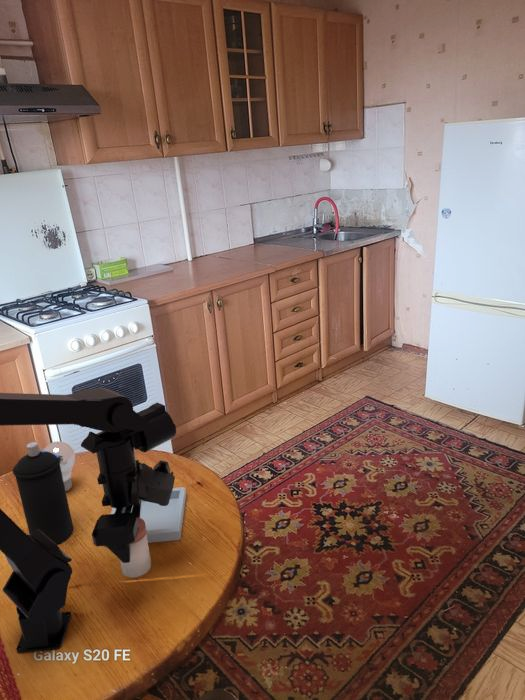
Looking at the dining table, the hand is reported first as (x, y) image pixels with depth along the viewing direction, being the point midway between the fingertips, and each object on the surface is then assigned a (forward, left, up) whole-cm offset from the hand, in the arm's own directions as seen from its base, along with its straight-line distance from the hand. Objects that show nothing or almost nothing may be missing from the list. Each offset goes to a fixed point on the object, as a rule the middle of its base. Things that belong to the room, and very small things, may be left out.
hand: (131, 542), depth 91 cm
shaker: (0, 0, -6) cm, 6 cm away
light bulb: (+26, +20, -6) cm, 33 cm away
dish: (+13, 0, -6) cm, 14 cm away
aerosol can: (+11, +18, -6) cm, 22 cm away
